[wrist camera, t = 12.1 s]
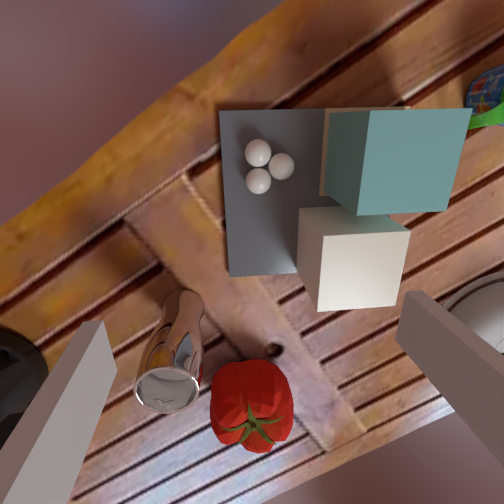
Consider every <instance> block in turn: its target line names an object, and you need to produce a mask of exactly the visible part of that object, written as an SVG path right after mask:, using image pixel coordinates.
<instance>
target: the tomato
mask: <svg viewBox="0 0 504 504" xmlns="http://www.w3.org/2000/svg"><path fill="white" fill-rule="evenodd" d="M293 406H294V404H293V398H292V393H291V390H290V387H289V384H288V381H287V378H286V376H285V375H284V374H283V372H282V371H281V370H280V369H279V367H278V366H276V365H274V364H272V363H270V362H268V361H267V360H262V359H251V360H246V361H243V362H229V363H227V364H225V365H223V366H222V367H221V368H220V369H219V370H218V371H217V372H216V373H215V374H214V377H213V380H212V386H211V401H210V419H211V425H212V429H213V431H214V433H215V435H216V436H217V438H218V439H219V441H220V442H221V443H223V444H226V445H230V444H233V443H235V442H237V441H239V442H238V443H237V445H238V444H239V443H241V444H242V445H243V447H244V448H245V449H246V450H248V451H251V452H255V453H258V454H259V453H264V452H270V450H271V448H272V447H273V445H274V444H276V443H275V442H278V441H285V440H286V439H287V437H288V435H289V434H290V431H291V428H292V426H293ZM237 445H236V446H237Z"/></svg>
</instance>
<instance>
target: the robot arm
mask: <svg viewBox="0 0 504 504" xmlns="http://www.w3.org/2000/svg"><path fill="white" fill-rule="evenodd" d="M395 340H396V341H397V343H398V344H399V345H400V346H401V347H402V349H403V350H404V351H405V352H406V353H407V354H408V356H409V357H410V358H411V359H412V360H413V362H414V363H415V364H416V365H417V366H418V367H419V369H420V370H421V371H422V372H423V373H424V374H425V376H426V377H427V378H428V379H429V380H430V382H431V383H432V384H433V385H434V386H435V387H436V389H437V390H438V391H439V392H440V393H441V394H442V396H443V397H444V398H445V399H446V400H447V402H448V403H449V404H450V405H451V406H452V407H453V409H454V410H455V411H456V412H457V413H458V414H459V416H460V417H461V418H462V419H463V420H464V421H465V423H466V424H467V425H468V426H469V427H470V429H471V430H472V431H473V432H474V433H475V434H476V436H477V437H478V438H479V439H480V440H481V442H482V443H483V444H484V445H485V446H486V447H487V449H488V450H489V451H490V452H491V453H492V455H494V457H495V458H496V459H497V460H498V462H499V463H500V464H501V465H502V466H503V467H504V353H500V352H499V351H497V350H496V349H495V348H494V347H492V346H491V345H490V344H488V343H487V342H486V341H485V340H483V339H482V338H481V337H480V336H478V335H477V334H476V333H475V332H473V331H472V330H471V329H470V328H468V327H467V326H466V325H465V324H463V323H462V322H461V321H460V320H458V319H457V318H456V317H455V316H453V315H452V314H451V313H449V312H448V311H447V310H446V309H444V308H443V307H442V306H441V305H439V304H438V303H437V302H436V301H434V300H433V299H432V298H431V297H429V296H428V295H427V294H426V293H424V292H423V291H422V290H419V291H408V292H406V293H405V298H404V302H403V307H402V311H401V316H400V320H399V325H398V329H397V334H396V338H395ZM116 373H117V369H116V365H115V362H114V358H113V354H112V351H111V347H110V344H109V340H108V337H107V333H106V329H105V326H104V322H103V320H99V321H88V322H83V323H82V324H81V326H80V327H79V329H78V330H77V332H76V334H75V335H74V337H73V338H72V340H71V341H70V343H69V344H68V346H67V348H66V349H65V351H64V352H63V354H62V355H61V357H60V358H59V360H58V362H57V363H56V365H55V366H54V368H53V369H52V371H51V372H50V374H49V372H48V367H47V364H46V362H45V360H44V358H43V357H42V355H41V354H40V353H39V352H38V351H37V350H36V349H35V348H34V347H33V346H32V345H30V344H29V343H28V342H26V341H25V340H23V339H21V338H19V337H17V336H15V335H13V334H10V333H7V332H4V331H1V330H0V504H67V502H68V500H69V497H70V495H71V492H72V489H73V487H74V484H75V481H76V479H77V476H78V473H79V471H80V468H81V465H82V463H83V460H84V458H85V455H86V452H87V450H88V447H89V444H90V442H91V439H92V436H93V434H94V431H95V428H96V426H97V423H98V420H99V418H100V415H101V413H102V410H103V407H104V405H105V402H106V399H107V397H108V394H109V391H110V389H111V386H112V383H113V381H114V378H115V375H116ZM25 409H27V410H26V411H25V412H22V411H23V410H25ZM21 412H22V413H21Z"/></svg>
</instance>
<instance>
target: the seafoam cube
mask: <svg viewBox="0 0 504 504" xmlns="http://www.w3.org/2000/svg"><path fill="white" fill-rule="evenodd" d="M472 109H473V108H459V109H417V110H376V111H355V112H338V113H330V115H329V128H328V141H327V153H326V166H325V179H324V193H326V194H327V195H328V196H330V197H331V198H333V199H334V200H335V201H337V202H338V203H340V204H341V205H342V206H344V207H345V208H347V209H348V210H349V211H351V212H352V213H354V214H355V215H357V216H360V215H379V214H398V213H417V212H436V211H446V209H447V206H448V202H449V198H450V194H451V190H452V186H453V183H454V179H455V175H456V171H457V167H458V163H459V159H460V156H461V152H462V148H463V144H464V140H465V136H466V132H467V129H468V125H469V121H470V117H471V113H472Z"/></svg>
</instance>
